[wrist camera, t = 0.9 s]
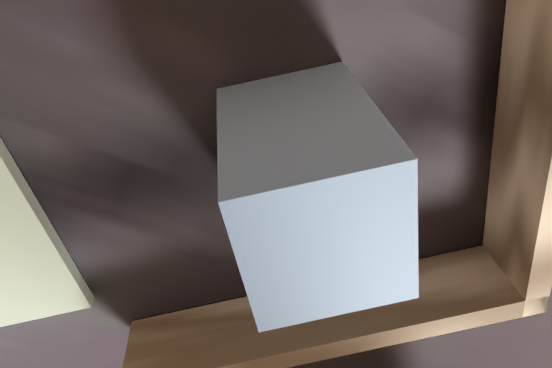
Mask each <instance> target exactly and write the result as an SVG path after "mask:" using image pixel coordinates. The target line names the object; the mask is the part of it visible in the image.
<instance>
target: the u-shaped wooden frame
mask: <svg viewBox="0 0 552 368" xmlns="http://www.w3.org/2000/svg"><path fill="white" fill-rule="evenodd" d="M418 272H419V298H416V299H411V300H406V301H402V302H397V303H393V304H388V305H383V306H379V307H374V308H370V309H365V310H360V311H356V312H351V313H347V314H342V315H337V316H333V317H328V318H324V319H319V320H314V321H310V322H305V323H301V324H296V325H291V326H287V327H282V328H277V329H273V330H268V331H264V332H258V328H257V325H256V322H255V319H254V316H253V313H252V309H251V306H250V303H249V300H248V297H247V296H246V297H242V298H237V299H233V300H228V301H223V302H219V303H214V304H210V305H205V306H200V307H196V308H191V309H186V310H182V311H177V312H173V313H168V314H163V315H159V316H154V317H150V318H145V319H140V320H136V321H132V323H131V328H130V333H129V338H128V343H127V348H126V353H125V359H124V364H123V368H289V367H294V366H298V365H303V364H308V363H312V362H317V361H322V360H326V359H331V358H336V357H340V356H345V355H349V354H354V353H359V352H363V351H368V350H373V349H377V348H382V347H386V346H391V345H396V344H400V343H405V342H410V341H414V340H419V339H423V338H428V337H433V336H437V335H442V334H447V333H451V332H456V331H460V330H465V329H470V328H474V327H479V326H484V325H488V324H493V323H497V322H502V321H507V320H511V319H516V318H521V317H525V316H530V315H535V314H539V313H544V312H546V309H547V304H548V300H549V295H550V291H551V286H552V0H506V9H505V19H504V30H503V40H502V50H501V61H500V71H499V82H498V92H497V102H496V113H495V123H494V133H493V144H492V154H491V165H490V175H489V185H488V196H487V206H486V216H485V227H484V237H483V245H482V246H477V247H473V248H468V249H464V250H459V251H454V252H450V253H445V254H440V255H436V256H431V257H427V258H422V259H418Z"/></svg>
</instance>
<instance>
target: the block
mask: <svg viewBox="0 0 552 368" xmlns="http://www.w3.org/2000/svg"><path fill="white" fill-rule="evenodd" d="M217 164H218V204H219V207H220V210H221V214H222V217H223V220H224V223H225V226H226V230H227V233H228V236H229V239H230V242H231V246H232V249H233V252H234V255H235V258H236V261H237V265H238V268H239V271H240V274H241V277H242V281H243V284H244V287H245V290H246V293H247V297H248V300H249V303H250V306H251V309H252V313H253V316H254V319H255V322H256V325H257V328H258V332H264V331H268V330H273V329H277V328H282V327H287V326H291V325H296V324H301V323H305V322H310V321H314V320H319V319H324V318H328V317H333V316H337V315H342V314H347V313H351V312H356V311H360V310H365V309H370V308H374V307H379V306H383V305H388V304H393V303H397V302H402V301H406V300H411V299H416V298H419V272H418V159H417V158H416V156H415V155H414V154H413V153H412V151H411V150H410V149H409V147H408V146H407V145H406V143H405V142H404V141H403V140H402V138H401V137H400V136H399V134H398V133H397V132H396V131H395V129H394V128H393V127H392V125H391V124H390V123H389V121H388V120H387V119H386V118H385V116H384V115H383V114H382V112H381V111H380V110H379V109H378V107H377V106H376V105H375V103H374V102H373V101H372V99H371V98H370V97H369V96H368V94H367V93H366V92H365V90H364V89H363V88H362V87H361V85H360V84H359V83H358V81H357V80H356V79H355V77H354V76H353V75H352V74H351V72H350V71H349V70H348V68H347V67H346V66H345V65H344V63H343V62H338V63H333V64H329V65H324V66H319V67H315V68H310V69H306V70H301V71H296V72H292V73H287V74H283V75H278V76H273V77H269V78H264V79H260V80H255V81H250V82H246V83H241V84H237V85H232V86H227V87H223V88H218V89H217Z"/></svg>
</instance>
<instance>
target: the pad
mask: <svg viewBox="0 0 552 368" xmlns="http://www.w3.org/2000/svg"><path fill="white" fill-rule="evenodd" d="M93 300H94V296H93V294H92V292H91V291H90V289H89V287H88V286H87V284H86V282H85V280H84V279H83V277H82V275H81V274H80V272H79V270H78V269H77V267H76V265H75V263H74V262H73V260H72V258H71V257H70V255H69V253H68V252H67V250H66V248H65V246H64V245H63V243H62V241H61V240H60V238H59V236H58V234H57V233H56V231H55V229H54V228H53V226H52V224H51V223H50V221H49V219H48V217H47V216H46V214H45V212H44V211H43V209H42V207H41V206H40V204H39V202H38V200H37V199H36V197H35V195H34V194H33V192H32V190H31V188H30V187H29V185H28V183H27V182H26V180H25V178H24V177H23V175H22V173H21V171H20V170H19V168H18V166H17V165H16V163H15V161H14V160H13V158H12V156H11V154H10V153H9V151H8V149H7V148H6V146H5V144H4V143H3V141H2V139H1V137H0V327H3V326H7V325H12V324H16V323H21V322H26V321H30V320H35V319H40V318H44V317H49V316H53V315H58V314H63V313H67V312H72V311H76V310H81V309H86V308H90V307H91V306H92V303H93Z"/></svg>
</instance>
